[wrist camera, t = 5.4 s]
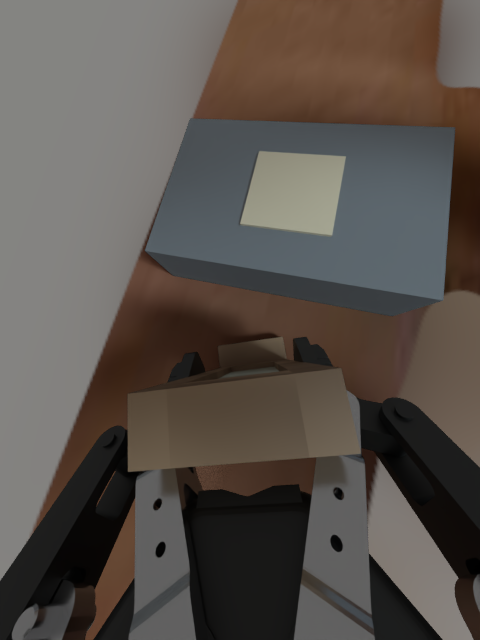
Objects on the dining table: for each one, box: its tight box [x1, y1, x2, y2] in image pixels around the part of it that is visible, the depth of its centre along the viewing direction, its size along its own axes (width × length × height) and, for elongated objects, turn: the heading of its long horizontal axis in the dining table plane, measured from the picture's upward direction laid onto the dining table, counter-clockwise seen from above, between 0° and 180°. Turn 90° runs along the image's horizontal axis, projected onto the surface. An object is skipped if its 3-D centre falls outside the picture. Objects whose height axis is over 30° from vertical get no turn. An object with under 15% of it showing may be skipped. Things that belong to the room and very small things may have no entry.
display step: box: [145, 119, 455, 316], centre depth 17 cm, size 22×14×5 cm, turn 77°
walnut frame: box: [127, 337, 361, 472], centre depth 11 cm, size 6×6×13 cm
